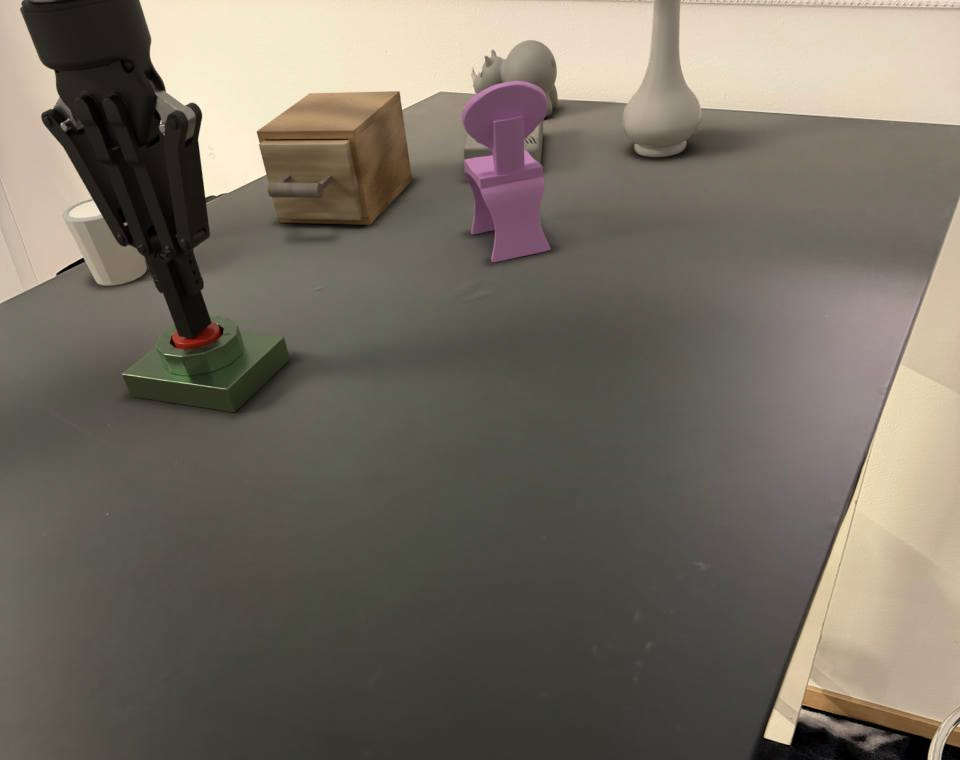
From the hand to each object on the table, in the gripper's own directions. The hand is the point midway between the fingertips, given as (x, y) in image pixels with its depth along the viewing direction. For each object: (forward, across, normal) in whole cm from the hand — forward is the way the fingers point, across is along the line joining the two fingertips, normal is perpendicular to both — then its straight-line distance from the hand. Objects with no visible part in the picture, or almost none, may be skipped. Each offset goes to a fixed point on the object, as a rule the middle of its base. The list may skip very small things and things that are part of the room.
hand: (195, 329), depth 74 cm
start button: (+2, 0, 0) cm, 2 cm away
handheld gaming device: (+5, +6, +56) cm, 57 cm away
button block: (+5, 0, 0) cm, 5 cm away
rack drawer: (+4, -8, +36) cm, 37 cm away
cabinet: (+5, -8, +40) cm, 41 cm away
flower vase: (+5, +24, +60) cm, 65 cm away
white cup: (+5, -24, +17) cm, 30 cm away
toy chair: (+5, +16, +32) cm, 36 cm away
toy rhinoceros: (+5, +1, +73) cm, 73 cm away
